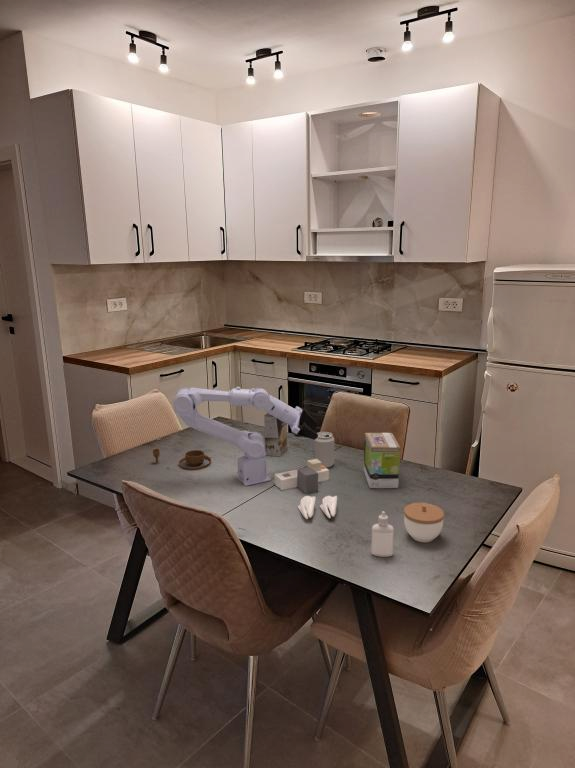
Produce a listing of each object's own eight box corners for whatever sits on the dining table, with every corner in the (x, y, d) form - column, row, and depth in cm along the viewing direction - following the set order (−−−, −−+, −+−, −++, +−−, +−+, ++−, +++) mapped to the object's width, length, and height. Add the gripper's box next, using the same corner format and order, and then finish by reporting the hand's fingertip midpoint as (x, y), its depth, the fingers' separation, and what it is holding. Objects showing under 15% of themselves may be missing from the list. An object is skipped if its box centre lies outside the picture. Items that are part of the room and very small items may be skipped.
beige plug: (312, 472, 188) (312, 464, 187) (307, 468, 191) (307, 460, 191) (321, 470, 190) (321, 462, 189) (316, 466, 193) (316, 458, 192)
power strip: (281, 490, 183) (281, 478, 182) (274, 484, 188) (274, 472, 187) (328, 479, 191) (329, 468, 190) (320, 474, 196) (321, 462, 195)
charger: (305, 494, 180) (305, 475, 179) (293, 484, 188) (293, 466, 186) (317, 491, 182) (318, 473, 180) (305, 481, 190) (305, 463, 188)
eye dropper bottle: (387, 560, 142) (389, 518, 139) (368, 553, 145) (369, 512, 142) (395, 553, 145) (397, 511, 142) (376, 546, 149) (377, 505, 146)
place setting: (190, 477, 196) (189, 461, 194) (150, 465, 206) (149, 451, 205) (222, 461, 210) (221, 446, 208) (183, 451, 221) (182, 437, 219)
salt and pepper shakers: (298, 505, 173) (294, 523, 162) (298, 493, 172) (294, 510, 161) (337, 507, 172) (335, 525, 161) (337, 495, 170) (335, 512, 160)
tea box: (399, 488, 184) (401, 446, 180) (369, 489, 184) (370, 447, 180) (390, 470, 198) (392, 431, 194) (362, 470, 198) (363, 431, 194)
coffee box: (280, 457, 212) (279, 417, 208) (264, 455, 214) (263, 415, 210) (287, 448, 220) (287, 410, 216) (272, 447, 222) (271, 408, 218)
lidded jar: (420, 523, 161) (421, 493, 158) (450, 538, 152) (452, 507, 150) (394, 535, 155) (395, 504, 152) (425, 551, 146) (426, 519, 144)
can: (334, 469, 200) (335, 437, 197) (313, 469, 200) (313, 437, 197) (333, 461, 207) (333, 430, 204) (313, 461, 207) (313, 430, 204)
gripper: (288, 414, 179) (323, 434, 182) (290, 393, 192) (323, 412, 195) (276, 429, 182) (311, 449, 185) (280, 408, 195) (312, 426, 197)
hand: (316, 431), depth 190 cm, fingers open, 7 cm apart
